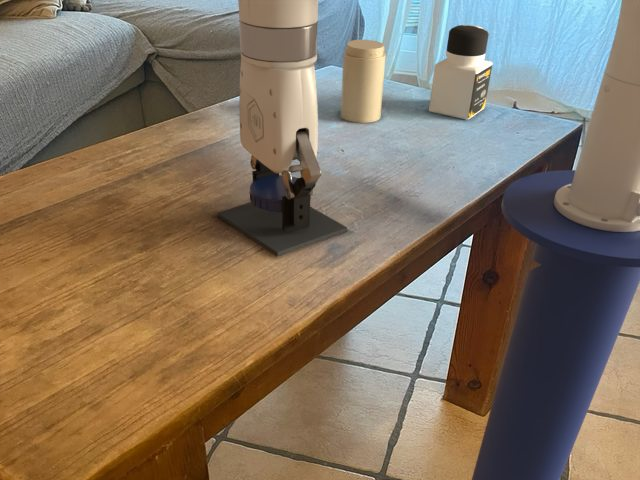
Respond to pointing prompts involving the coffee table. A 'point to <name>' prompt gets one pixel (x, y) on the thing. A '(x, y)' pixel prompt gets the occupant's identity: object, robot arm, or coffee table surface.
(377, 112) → the jar
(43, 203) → the coffee table surface
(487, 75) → the medicine bottle
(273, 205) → the lid
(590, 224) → the robot arm
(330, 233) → the mat
